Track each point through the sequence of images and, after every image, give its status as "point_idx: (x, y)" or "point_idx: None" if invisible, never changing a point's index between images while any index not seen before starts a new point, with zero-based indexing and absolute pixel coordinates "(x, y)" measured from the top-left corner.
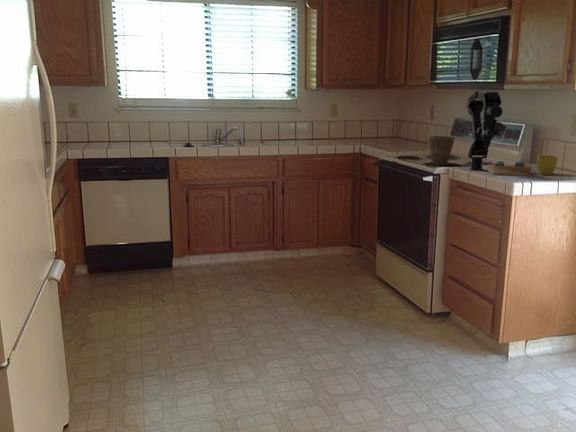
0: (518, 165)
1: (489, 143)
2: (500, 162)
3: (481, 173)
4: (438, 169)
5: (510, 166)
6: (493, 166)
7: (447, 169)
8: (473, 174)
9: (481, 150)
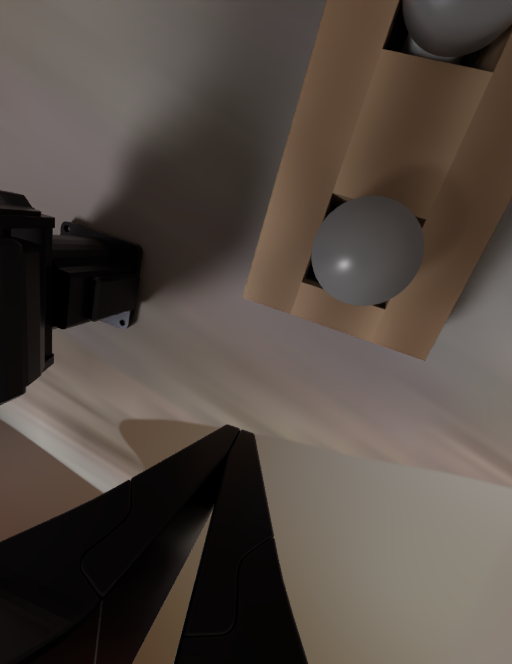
0: (503, 30)
1: (263, 512)
2: (415, 271)
3: (301, 367)
4: (78, 472)
5: (473, 165)
6: (401, 347)
7: (80, 431)
8: (337, 446)
9: (13, 317)
